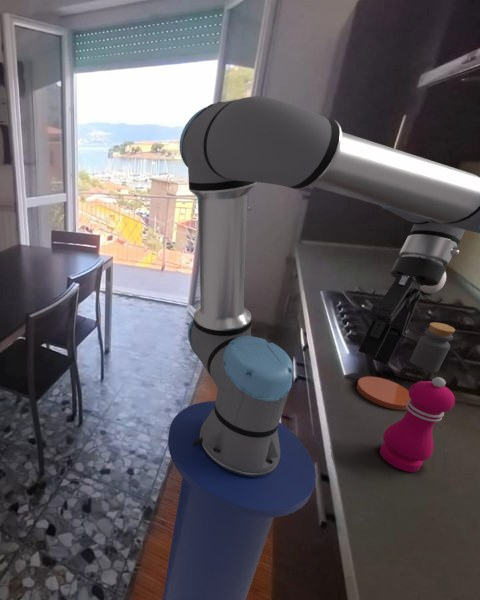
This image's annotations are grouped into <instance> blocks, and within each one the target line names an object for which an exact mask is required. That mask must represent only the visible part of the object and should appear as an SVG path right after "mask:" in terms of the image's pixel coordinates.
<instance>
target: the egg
mask: <svg viewBox="0 0 480 600" xmlns="http://www.w3.org/2000/svg"><path fill="white" fill-rule="evenodd" d="M446 281H447V272H446V271H445V272H444V274H443V276H442V278H441V280H440V282H439V284H438V285H435V286H426V285H423V286H421V287H420V291H422V292H423V293H425V294H429V295H430V294H435V293H437V292H439V291H440V290H441V289H443V288H444V285H445V284H446Z"/></svg>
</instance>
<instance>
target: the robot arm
mask: <svg viewBox="0 0 480 600" xmlns="http://www.w3.org/2000/svg"><path fill="white" fill-rule="evenodd" d="M179 153H180V157H181V160H182V161H183V164H184V165H185V166H186V168H187V174H188V175H187V176H188V191H189V192H190V193H192V194H193V195H194V196H196V199H197V218H198V219H197V222H198V223H197V225H198V227H197V228H198V260H199V263H198V264H199V299H200V301H199V302H200V306H199V307H198V308H196V309H195V311H194V312H193V320H191V321H190V323H189V325H188V329H187V339H188V342H189V345H190V348H191V350H192V351H193V353H194V355H195V356H196V357H197V358H198V359H199V361H200V362H201V364H202V365H203V367H204V368H205V370H206V371H207V373H208V375H209V376H210V378H211V379H212V380H213V382H214V384H215V385H216V388H217V389H216V390H217V392H216V397H215V400H214V401H215V407H214V409H213V410H212V412H211V413H210V414H209V416H208V417H207V419H206V420H205V421H204V423H203V425H202V427H201V430H200V436H199V439H198V440H196V441H194V442H193V444H194V446H195V445H198V444H200V445H201V448H202V450H203V452H204V453H205V455H206V456H207V457H208V458H209V459H210V460H211V461H212V462H213V463H214V464H215V465H217V466H218V467H220V468H221V469H223V470H224V471H226V472H228V473H231V474H233V475H236V476H240V477H244V478H262V477H266V476H268V475H270V474H272V473H273V472H274V471H275V470H276V468H277V466H278V463H279V460H280V445H279V438H278V432H277V428H278V424H279V422H280V421H281V418H282V415H283V413H284V409H285V407H286V403H287V400H288V397H289V394H290V391H291V388H292V387H293V376H294V365H293V361H292V360H291V357H290V356H289V354H288V353H287V352H286V351H285V350H284V349H283V348H281V347H280V346H279V345H277V344H276V343H274V342H268V341H267V339H265V338H262V337H257V336H252V313H251V311H249V309H248V308H246V307H245V283H246V256H247V255H246V251H247V223H248V221H247V220H248V195H249V192H250V191H251V190H252V189H253V188H254V187H255V186H256V185H257V183H260V184H270V185H275V186H282V187H286V188H289V189H293V190H304V189H307V188H309V187H314V188H317V189H321V190H324V191H327V192H328V191H329V192H331V193H335V194H338V195H342V196H346V197H349V198H352V199H357V200H360V201H363V202H367V203H371V204H374V205H377V206H380V207H381V208H382V209H383V210H387V211H389V212H391V213H393V214H395V215H397V216H399V217H400V218H402V219H404V220H406V221H407V222H409V223H411V224H412V228H411V230H410V232H409V233H408V236H407V237H406V240H404V243H403V245H402V247H401V248H400V251H399V253H398V255H399V256H400V257H398V258H396V260H395V262H394V263H393V266H392V268H391V270H390V275H391V276H392V277H393V278H394V280H393V283H392V284H391V285H390V287H389V288H388V290H387V292H386V293H385V295H384V296H383V298H382V299H381V301H380V302H379V303H378V305H377V307H376V308H375V309H374V311H373V313H370V314H369V317H368V318H369V319H370V320H372V322H371V324H370V326H369V328H368V330H367V332H366V335H365V336H364V338H363V341H362V342H361V344H360V347H359V348H358V352H360V353H362V354H364V355H367V356H370V357H371V360H372V361H376V362H378V363H381V364H384V365H387V366H388V365H389V363H390V361H391V359H392V357H393V355H394V353H395V351H396V349H397V347H398V345H399V344H400V341H401V339H402V338H403V339H407V338H408V334H407V330H408V329H409V325H410V322H411V320H412V318H413V314H414V312H415V310H416V307H417V305H418V303H419V300H420V299H421V298H422V292H421V289H420V287H421V286H423V285H426V286H435V285H438V284H439V282H440V280H441V278H442V276H443V274H444V272H446V270H447V268H446V267H445V266H447V265H449V264H450V261H451V259H452V258H453V256H452V255H454V256H457V255H459V253H460V249H459V250H458V249H457V248H458V246H459V245H460V242H461V239H462V238H463V236H464V234H465V232H466V231H468V232H472V233H477V234H480V176H479V175H477V174H475V173H471V172H468V171H464V170H462V169H458V168H456V167H453V166H449V165H446V164H444V163H439V162H437V161H433V160H430V159H427V158H425V157H422V156H418V155H415V154H412V153H408V152H405V151H402V150H399V149H397V148H393V147H390V146H387V145H384V144H381V143H378V142H374V141H372V140H368V139H365V138H363V137H359V136H355V135H353V134H351V133H350V134H349V133H346V132H344V131H342V127H341V125H340V124H339V122H338V121H336V120H335V119H334V118H333V119H332V118H331V117H326V116H324V115H320V114H317V113H315V112H312V111H310V110H307V109H304V108H301V107H299V106H296V105H293V104H290V103H287V102H284V101H282V100H278V99H275V98H272V97H266V96H259V95H255V96H253V95H252V96H247V97H242V98H238V99H233V100H227V101H218V102H214V103H211V104H208V106H205V107H203V108H201V109H200V110H198V111H197V112H196V113H194V114H193V115H192V116H191V117H190V118H189V119H188V121H187V123H186V124H185V125H184V127H183V129H182V132H181V135H180V140H179ZM280 423H281V422H280Z"/></svg>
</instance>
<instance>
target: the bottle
mask: <svg viewBox="0 0 480 600" xmlns="http://www.w3.org/2000/svg"><path fill="white" fill-rule="evenodd" d="M455 331H456V329H455V327H453V326H451V325H449V324H446V323H443V322H442V323H441V322H437V321H435V322H430V323H429V327H428V328H426V329H425V331H424V334H425V335H422V336H421V337H420V338H419V340H418V341H417V344H416V346H415V347H414V350H413V351H412V355H411V356H410V359H409V361H410V362H411V363H412V364H414V365H416V366H418V367H420V368H423V369H426V370H429V371H432V372H437V371H438V372H439V370H440V368H441V366H442V364H443V362H444V360H445V359H446V356H447V355H448V352H449V350H450V349H451V344H450V342H451V341H452V340H453V339H454V335H453V334H454V333H455ZM449 341H450V342H449ZM438 372H437V373H438Z"/></svg>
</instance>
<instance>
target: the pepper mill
mask: <svg viewBox="0 0 480 600" xmlns="http://www.w3.org/2000/svg"><path fill="white" fill-rule="evenodd" d="M446 384H447V382H446V380H445V379H444V378H442V377H440V376H439V377H438V376H435V378H433V379H432V381H422V380H419V381H417V382H415V383H414V384H412V385H411V387H410V388H409V390H408V391H409V397H410V399H409V400H408V403H407V404H406V408H407V409H406V413H405V414H404V416H403V417H402V418H401V419H400V420H398V421H397V422H395V423H393V424H391V425H389V426H388V427H387V428H386V430H385V431H384V432H383V436H382V437H383V441H384V442H383V443H382V444H381V446H380V448H379V454H380V457H382V459H383V460H384V461H386V462H387V463H388V464H389V465H391V466H392V467H394V468H395V469H398V470H400V471H404V472H409V473H414V472H418V471H419V470H420V469H421V467H422V465H423V464H424V461H427V460H429V459H430V458H431V457H432V455H433V452H434V445H435V443H434V438H433V428H434V427H435V424H436V423H438V422H440V421H442V419H443V417H444V416H445V413H446V412H449V411H451V410H452V409H453V407H454V406H455V402H456V397H455V395H454V394H453V392H452V391H451V389H449V388H448V387H447V386H446Z"/></svg>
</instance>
